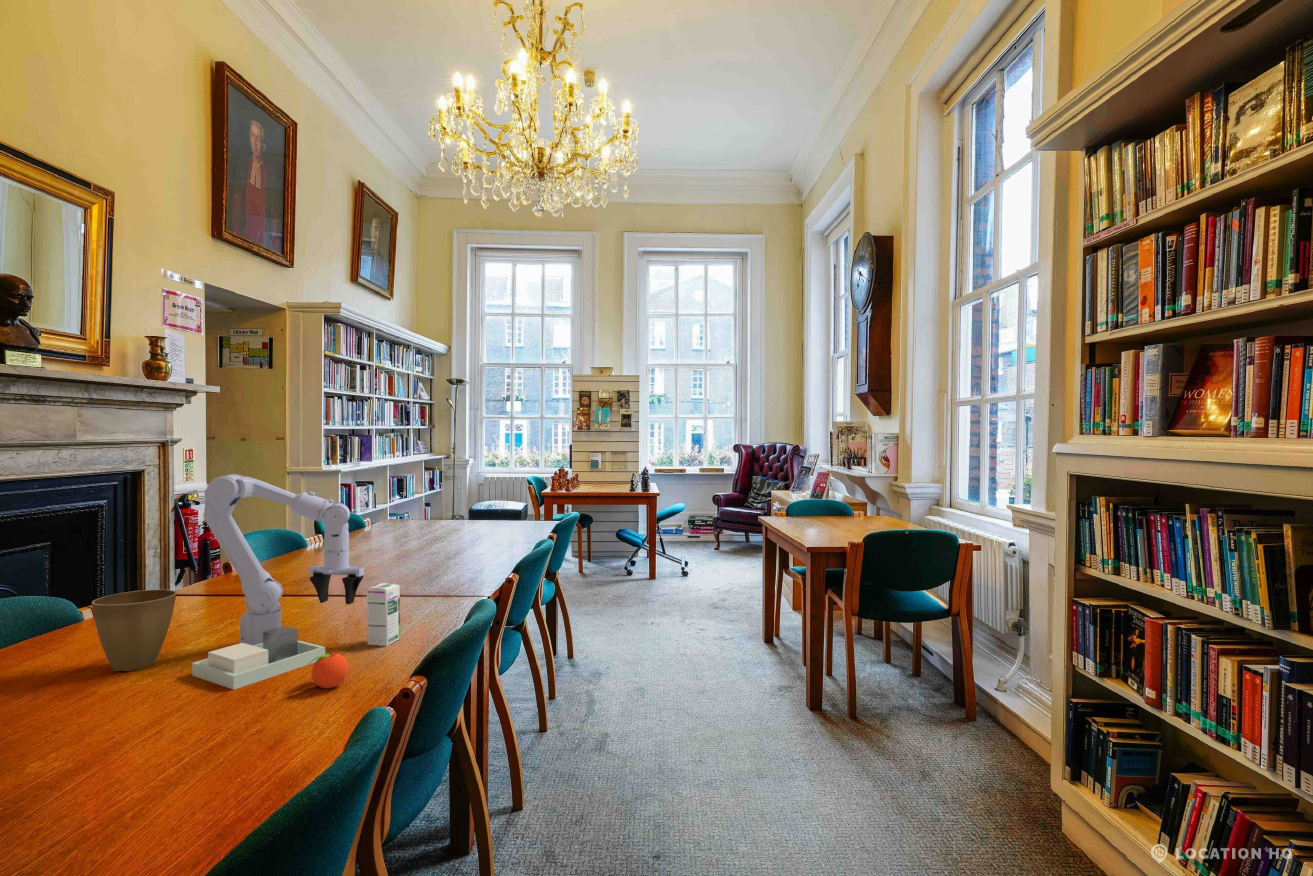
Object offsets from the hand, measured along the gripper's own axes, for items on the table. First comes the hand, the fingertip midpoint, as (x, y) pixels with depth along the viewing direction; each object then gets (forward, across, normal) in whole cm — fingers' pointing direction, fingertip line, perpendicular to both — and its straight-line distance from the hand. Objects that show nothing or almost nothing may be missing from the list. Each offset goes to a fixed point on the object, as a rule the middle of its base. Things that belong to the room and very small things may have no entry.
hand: (336, 602), depth 162 cm
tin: (+9, 0, -18) cm, 20 cm away
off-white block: (+9, -3, -27) cm, 29 cm away
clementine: (+10, +19, -28) cm, 36 cm away
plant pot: (+10, -32, -26) cm, 42 cm away
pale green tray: (+9, -2, -22) cm, 24 cm away
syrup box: (+10, +14, 0) cm, 17 cm away
